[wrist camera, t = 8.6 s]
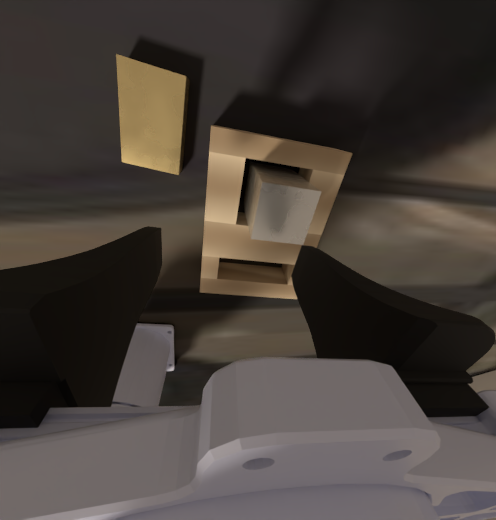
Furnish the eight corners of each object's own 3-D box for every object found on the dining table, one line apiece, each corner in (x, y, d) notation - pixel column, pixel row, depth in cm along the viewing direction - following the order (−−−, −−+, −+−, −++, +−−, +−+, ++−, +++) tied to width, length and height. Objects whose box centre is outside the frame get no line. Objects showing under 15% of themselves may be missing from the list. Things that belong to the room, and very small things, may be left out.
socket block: (289, 281, 25) (296, 299, 23) (202, 274, 24) (199, 292, 21) (334, 148, 18) (352, 153, 16) (213, 124, 16) (211, 125, 14)
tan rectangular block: (182, 169, 18) (178, 175, 17) (131, 158, 18) (121, 162, 16) (190, 80, 15) (186, 76, 14) (129, 61, 14) (116, 54, 13)
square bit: (280, 209, 21) (303, 245, 15) (243, 203, 20) (250, 238, 14) (291, 169, 19) (321, 191, 13) (250, 161, 18) (262, 182, 12)
